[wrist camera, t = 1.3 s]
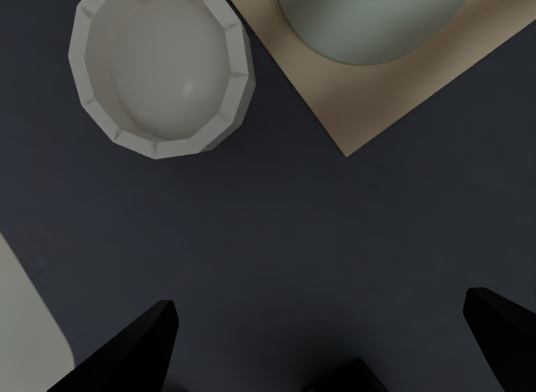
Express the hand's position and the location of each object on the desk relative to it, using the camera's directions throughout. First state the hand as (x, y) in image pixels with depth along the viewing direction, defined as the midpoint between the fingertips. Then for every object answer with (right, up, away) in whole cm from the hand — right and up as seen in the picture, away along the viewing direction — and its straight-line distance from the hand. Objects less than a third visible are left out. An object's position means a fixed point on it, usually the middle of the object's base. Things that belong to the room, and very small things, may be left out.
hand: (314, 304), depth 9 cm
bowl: (-8, +12, +11) cm, 18 cm away
